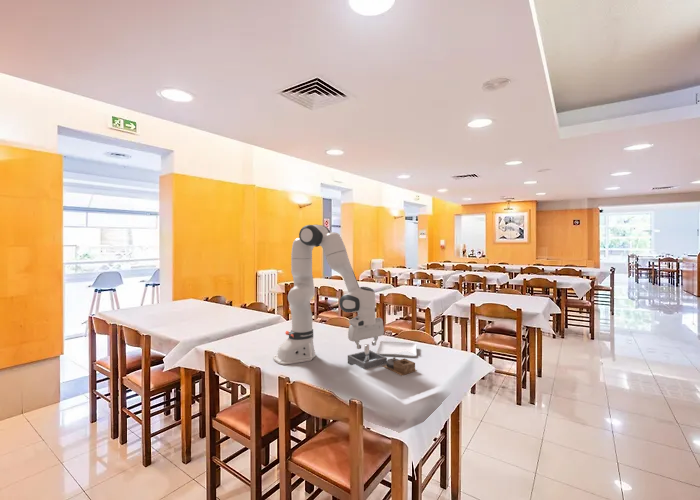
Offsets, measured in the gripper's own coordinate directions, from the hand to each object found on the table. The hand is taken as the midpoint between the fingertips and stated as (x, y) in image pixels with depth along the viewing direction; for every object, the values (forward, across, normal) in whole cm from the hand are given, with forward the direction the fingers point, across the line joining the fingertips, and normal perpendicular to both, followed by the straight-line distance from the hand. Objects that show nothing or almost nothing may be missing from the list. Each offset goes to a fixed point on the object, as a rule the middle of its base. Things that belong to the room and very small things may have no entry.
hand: (366, 346), depth 168 cm
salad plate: (+9, -24, -4) cm, 26 cm away
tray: (+9, 0, 0) cm, 9 cm away
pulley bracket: (+9, -7, +16) cm, 20 cm away
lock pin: (+8, 0, 0) cm, 8 cm away
